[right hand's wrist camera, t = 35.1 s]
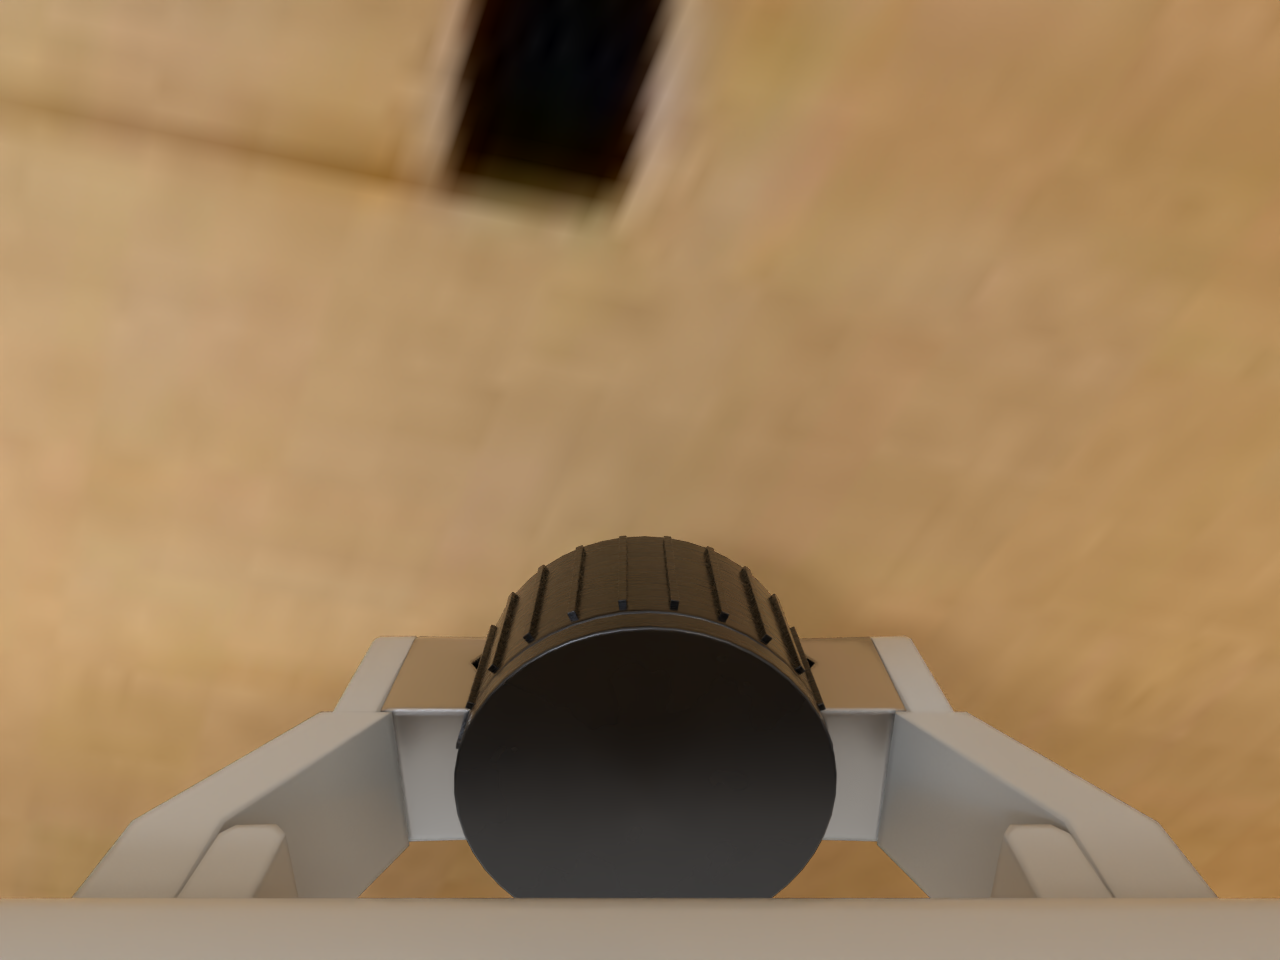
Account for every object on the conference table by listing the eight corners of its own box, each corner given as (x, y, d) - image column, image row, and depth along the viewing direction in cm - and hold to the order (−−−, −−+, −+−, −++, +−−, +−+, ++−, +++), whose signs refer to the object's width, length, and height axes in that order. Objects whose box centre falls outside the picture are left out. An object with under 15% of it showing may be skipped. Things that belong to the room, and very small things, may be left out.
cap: (475, 529, 9) (435, 621, 7) (813, 532, 9) (863, 623, 7) (490, 802, 11) (459, 944, 9) (787, 803, 11) (823, 943, 9)
